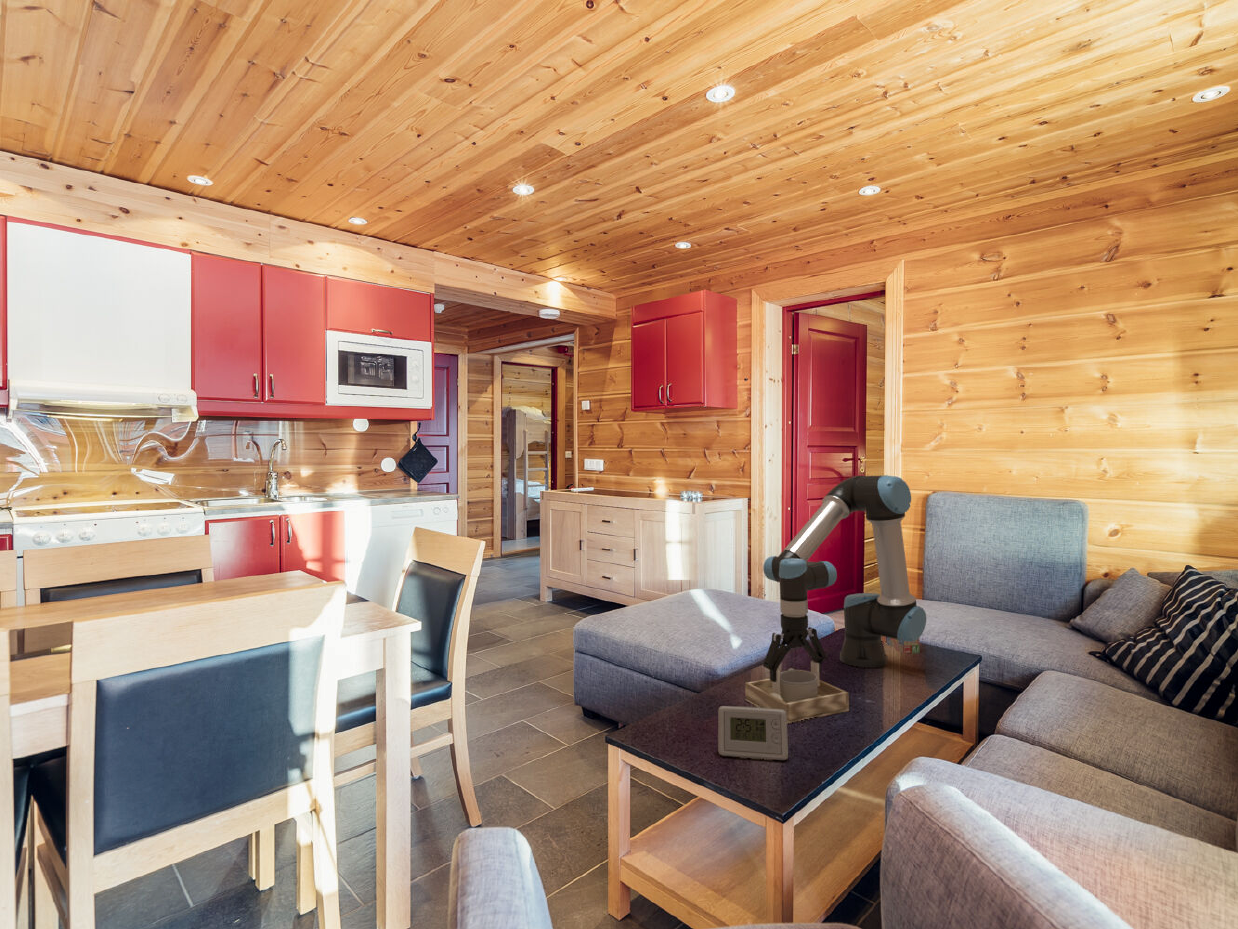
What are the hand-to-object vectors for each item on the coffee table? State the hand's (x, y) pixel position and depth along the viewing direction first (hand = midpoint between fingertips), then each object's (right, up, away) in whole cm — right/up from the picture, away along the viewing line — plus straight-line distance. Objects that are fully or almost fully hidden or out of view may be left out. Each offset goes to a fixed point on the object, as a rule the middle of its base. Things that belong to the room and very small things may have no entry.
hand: (796, 688), depth 180 cm
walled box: (0, -5, 0) cm, 5 cm away
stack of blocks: (+53, -4, +57) cm, 78 cm away
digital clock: (-19, -5, -30) cm, 36 cm away
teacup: (0, -4, 0) cm, 4 cm away
